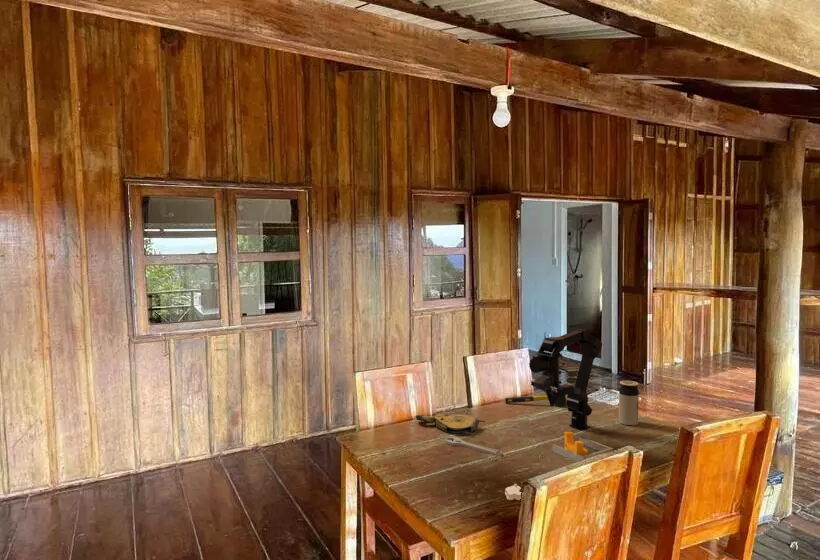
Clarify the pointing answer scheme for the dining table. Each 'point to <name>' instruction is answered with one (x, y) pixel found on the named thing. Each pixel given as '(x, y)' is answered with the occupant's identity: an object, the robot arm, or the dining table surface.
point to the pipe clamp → (574, 444)
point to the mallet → (559, 402)
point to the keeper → (578, 457)
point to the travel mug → (628, 403)
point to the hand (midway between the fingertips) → (552, 406)
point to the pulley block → (452, 423)
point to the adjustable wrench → (472, 446)
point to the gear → (513, 492)
